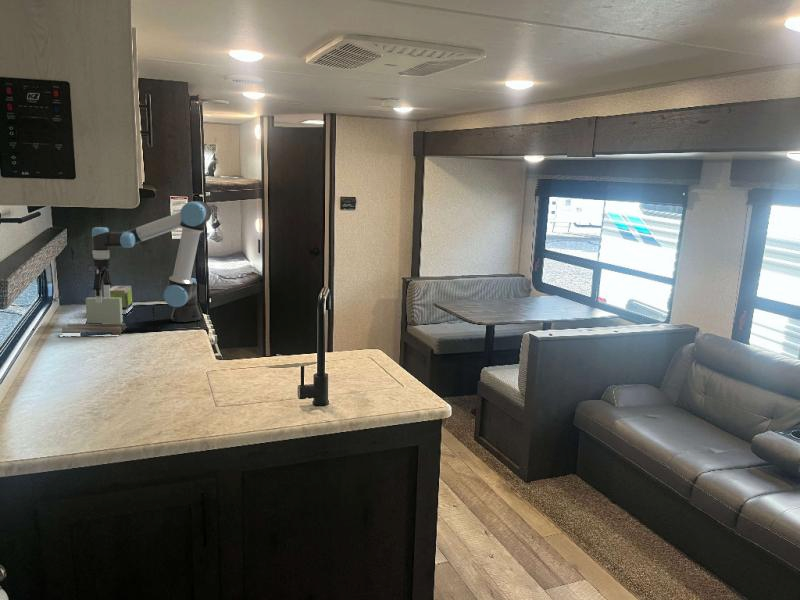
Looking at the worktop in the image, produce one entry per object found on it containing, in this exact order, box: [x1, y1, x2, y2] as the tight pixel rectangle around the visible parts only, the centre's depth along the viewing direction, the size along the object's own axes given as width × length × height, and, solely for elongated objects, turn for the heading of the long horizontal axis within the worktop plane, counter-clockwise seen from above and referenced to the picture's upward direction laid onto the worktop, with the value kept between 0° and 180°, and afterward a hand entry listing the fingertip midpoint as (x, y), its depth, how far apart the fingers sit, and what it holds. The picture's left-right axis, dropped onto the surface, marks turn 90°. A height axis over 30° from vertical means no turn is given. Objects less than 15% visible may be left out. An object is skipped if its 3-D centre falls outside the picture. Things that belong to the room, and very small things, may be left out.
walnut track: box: [61, 322, 127, 335], centre depth 294 cm, size 18×26×4 cm
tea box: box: [110, 285, 134, 314], centre depth 337 cm, size 15×10×15 cm, turn 10°
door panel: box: [85, 296, 124, 324], centre depth 310 cm, size 4×16×14 cm, turn 100°
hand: (103, 300), depth 309 cm, fingers open, 13 cm apart
